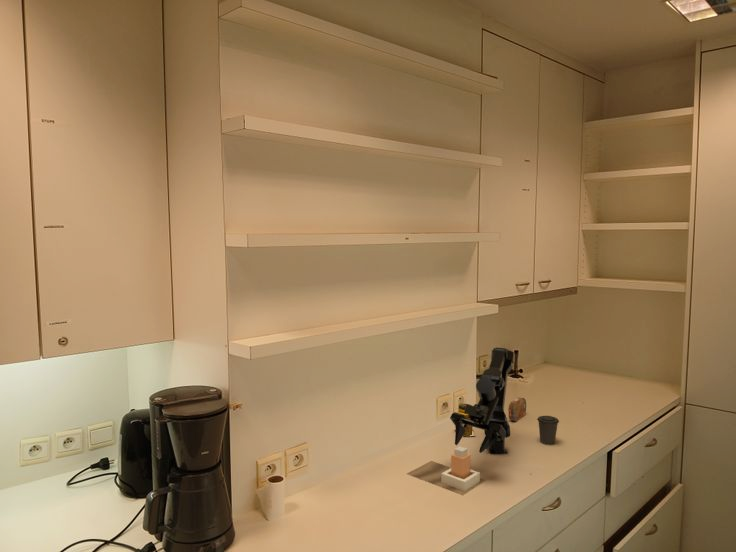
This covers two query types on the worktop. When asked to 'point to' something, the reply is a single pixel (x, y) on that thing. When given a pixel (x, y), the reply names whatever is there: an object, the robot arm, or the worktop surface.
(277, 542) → the worktop surface
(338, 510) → the worktop surface
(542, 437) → the coffee cup
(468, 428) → the condiment
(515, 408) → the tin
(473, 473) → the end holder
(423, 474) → the board
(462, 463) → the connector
